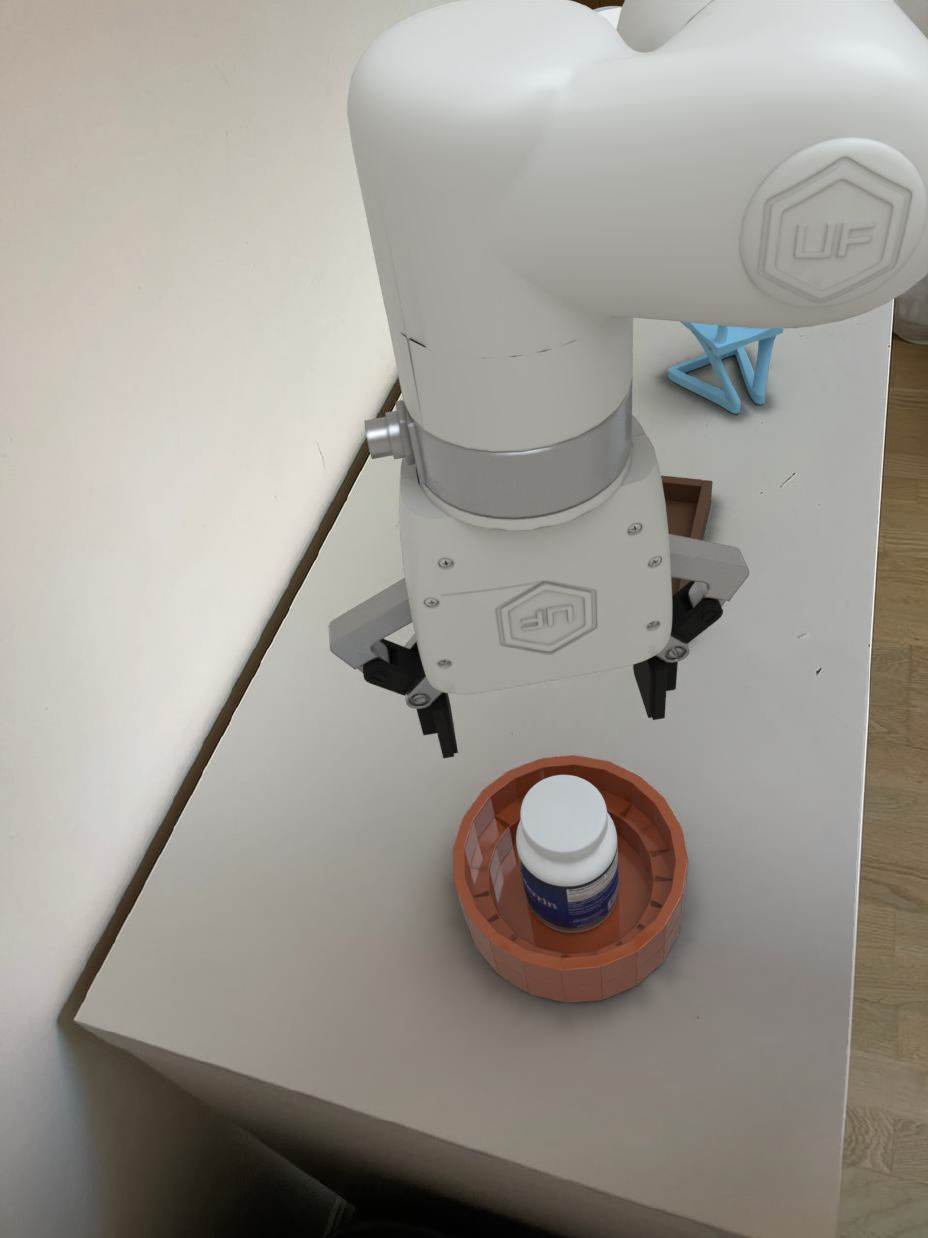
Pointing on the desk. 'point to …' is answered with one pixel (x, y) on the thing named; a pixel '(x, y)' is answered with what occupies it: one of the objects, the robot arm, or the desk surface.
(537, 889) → the pill bottle
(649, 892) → the bowl
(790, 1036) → the desk surface
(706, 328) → the chair
